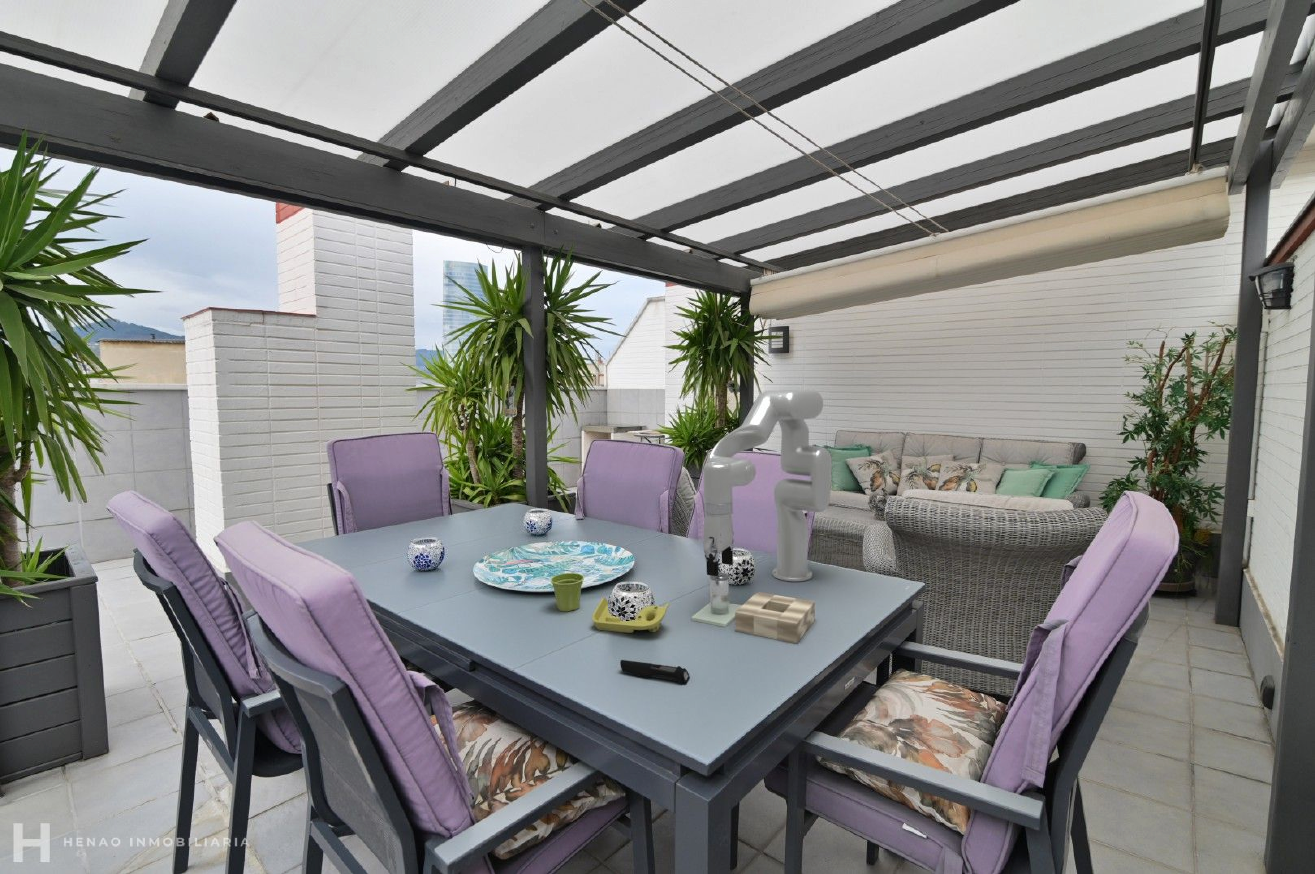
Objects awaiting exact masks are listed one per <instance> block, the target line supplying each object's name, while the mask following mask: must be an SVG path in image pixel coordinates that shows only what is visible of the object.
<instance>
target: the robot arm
mask: <svg viewBox="0 0 1315 874" xmlns="http://www.w3.org/2000/svg"><path fill="white" fill-rule="evenodd" d="M823 409H824V399H823V397H822V395H821V394H820V392H818V390H817V391H816V390H814V389H813V390H807V389H806V390H805V389H803V390H802V389H801V390H798V389H797V390H796V389H794V390H793V389H783V390H782V389H781V390H766V391H763V392H761V393H760V394H759V395H758V396H757V398H756V400H754V402H753V405H752V406H751V408H750V410H749V412H748V414H747V416H746V417H745V419H744V420H743V422H742V424H741V425H740V426H739V427H738V428H736V429H734V430H732V431H731V432H729V433H728V434H726V435H725V436H724V437H722V438H721V439H719V441H718V442H717V443H715V445H714V447H713V449H712V450H711V451H710V453H709V455H708V458H707V459H706V462H705V464H704V466H703V469H702V470H703V473H702V474H703V495H704V496H703V497H704V498H703V499H704V501H703V504H704V520H703V536H702V537H703V538H702V539H703V541H702V542H703V543H702V544H703V545H702V546H703V552H704V557H705V561H706V575H707V576H710V575H711V576H718V575H719V573H720V572H719V561H718V558H719V554H721V556H720V557H721V564H723V565H729V566H732V565H733V564H734V555H733V553H734V551H733V550H734V545H733V543H734V541H735V540H734V533H735V532H734V527H733V517H732V515H733V514H734V512H733V511H734V510H733V509H734V507H733V488H734V487H743V486H744V487H745V486H747V485H749V484H751V483H752V482H753V480H754V479H755V476H756V473H757V472H756V467H755V464H754V463H753V462H752V461H751V460H749V459H747V458H741V457H734V456H735V455H737V454H739V453H741V452H743V451H747V450H750V449H753V448H755V447H759V446H761V445H763V444H765V443H767V441H769V438H770V437H771V435H772V432H773V430H774V429H775V427H776V425H777V423H778V424H779V427H780V429H781V431H780V432H781V443H780V445H781V446H780V469H781V470H782V472H784V473H785V474H787V475H794V476H803V477H810V479H811V480H808V479H807V480H805V479H798V478H783V479H780V480H778V481H777V483H776V484H775V486H774V489H773V496H774V503H775V508H776V509H775V510H776V518H777V519H776V520H777V521H776V522H777V524H776V525H777V526H776V528H777V530H776V532H777V533H776V534H777V535H776V540H777V541H776V545H777V546H776V547H777V548H776V551H777V553H776V554H777V555H776V565H777V566H776V567H775V568H773V570H772V572H771V573H772V576H773V577H774V578H776V579H778V580H780V581H785V582H795V583H797V582H805V581H808V580H810V579H812V578H813V572H812V570H810V569H808V531H809V530H808V528H809V527H808V526H809V525H808V520H807V517H806V515H805V513H804V511H805V512H813V513H823V512H825V511H826V510H827V509H828V506H829V504H830V500H831V488H832V486H831V485H832V469H833V467H832V464H833V463H832V457H831V453H830V452H829V450H828V449H827V448H826V447H822V446H819V445H818V446H817V445H810V443H809V442H810V438H809V437H810V431H809V430H810V429H809V427H808V424H807V422H806V421H805V420H811V419H812V420H813V419H816V418H817V417H819V416H820V414H821V413H822V411H823Z"/></svg>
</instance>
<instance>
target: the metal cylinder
mask: <svg viewBox="0 0 1315 874" xmlns="http://www.w3.org/2000/svg"><path fill="white" fill-rule="evenodd" d="M729 576H730V575H729V574H728V573H725V572H719V575H718V576H711V575H709V595H710V597H709V598H710V600H709V601H710V602H709V603H710V609H711V613H713V614H719V615H722V614H727V613H728V612H729V603H730V599H729V598H730V596H729V595H730V590H729V587H730V585H729V584H730V583H729V581H730V580H729Z"/></svg>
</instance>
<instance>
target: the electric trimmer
mask: <svg viewBox="0 0 1315 874" xmlns="http://www.w3.org/2000/svg"><path fill="white" fill-rule="evenodd" d="M619 664H620V669H621V671H622V672H624V673H627V674H631V675H634V676H638V677H642V678H647V679H649V678H658V679H663V680H667V681H674V682H678V683H679V684H680V685H684V684H686V685H687V683H688V682H689V681H690V679H691V675H690V673H689V671H688V670H687V669H686V668H685V667H682V666H681V665H680V666H679V665H678V666H671V665H663V664H657V663H651V662H650V663H649V662H641V661H634V660H626V659H620V663H619Z"/></svg>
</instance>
